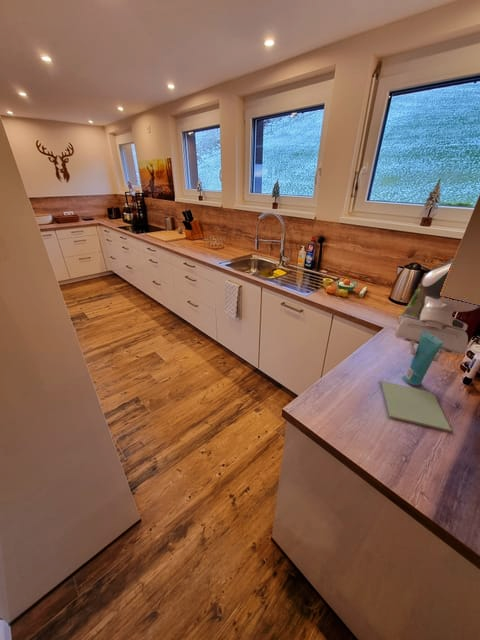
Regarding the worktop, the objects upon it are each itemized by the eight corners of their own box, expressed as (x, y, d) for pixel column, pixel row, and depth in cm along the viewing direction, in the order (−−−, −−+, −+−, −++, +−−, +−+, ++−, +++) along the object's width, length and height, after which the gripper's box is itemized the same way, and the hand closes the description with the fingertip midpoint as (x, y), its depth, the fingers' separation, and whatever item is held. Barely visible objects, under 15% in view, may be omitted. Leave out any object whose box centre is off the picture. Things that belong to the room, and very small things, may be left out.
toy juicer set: (324, 295, 162) (326, 283, 158) (321, 285, 177) (323, 274, 174) (373, 300, 157) (376, 288, 154) (366, 289, 173) (369, 278, 169)
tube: (426, 386, 92) (449, 340, 83) (416, 389, 91) (438, 343, 81) (408, 373, 98) (427, 329, 89) (398, 375, 97) (417, 331, 87)
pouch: (408, 327, 130) (428, 279, 118) (392, 316, 140) (408, 271, 128) (427, 326, 132) (448, 279, 120) (409, 315, 142) (427, 270, 130)
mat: (432, 394, 89) (433, 392, 89) (450, 432, 75) (451, 430, 75) (381, 383, 93) (381, 381, 92) (389, 417, 79) (390, 415, 79)
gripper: (402, 309, 93) (391, 345, 91) (474, 326, 84) (463, 366, 81) (399, 316, 99) (388, 349, 96) (466, 332, 90) (456, 370, 87)
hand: (423, 357), depth 89 cm, fingers closed on tube, 5 cm apart
